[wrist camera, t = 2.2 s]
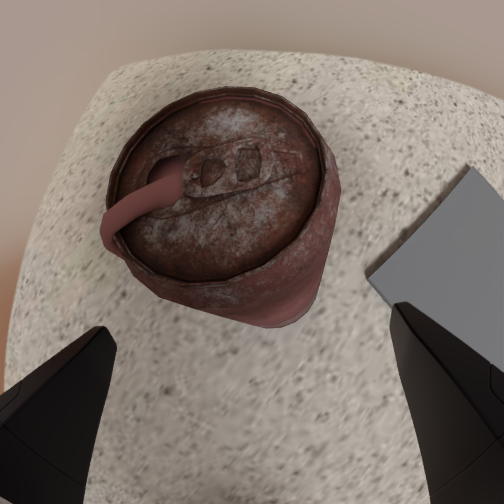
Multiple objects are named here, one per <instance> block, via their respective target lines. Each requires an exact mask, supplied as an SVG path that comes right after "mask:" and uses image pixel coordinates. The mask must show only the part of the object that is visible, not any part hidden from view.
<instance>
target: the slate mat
mask: <svg viewBox="0 0 504 504" xmlns="http://www.w3.org/2000/svg"><path fill="white" fill-rule="evenodd" d="M367 281H368V282H369V283H370V284H371V285H372V286H373V288H374V289H375V290H376V291H377V292H378V293H379V295H380V296H381V297H382V298H383V299H384V301H385V302H386V303H387V304H388V305H389V306H390V308H391V309H392V307H393V304H394V303H397V302H403V301H407V302H409V303H410V304H412V305H413V306H415V307H416V308H418V309H419V310H420V311H422V312H423V313H425V314H426V315H428V316H429V317H430V318H432V319H433V320H435V321H436V322H437V323H439V324H440V325H441V326H443V327H444V328H446V329H447V330H448V331H450V332H451V333H452V334H454V335H455V336H457V337H458V338H459V339H461V340H462V341H463V342H465V343H466V344H467V345H469V346H470V347H471V348H473V349H474V350H475V351H477V352H478V353H479V354H481V355H482V356H483V357H484V358H486V359H487V360H488V361H490V364H494V365H495V366H496V367H498V368H499V369H500V370H501V371H503V372H504V200H503V199H502V198H501V196H500V195H499V194H498V193H497V192H496V191H495V189H494V188H493V187H492V186H491V185H490V184H489V183H488V181H487V180H486V179H485V178H484V177H483V176H482V175H481V174H480V173H479V172H478V171H477V170H476V168H475V167H474V166H472V167H471V169H470V170H469V171H468V172H467V174H466V175H465V176H464V177H463V179H462V180H461V181H460V182H459V183H458V185H457V186H456V187H455V188H454V189H453V190H452V192H451V193H450V194H449V195H448V196H447V197H446V199H445V200H444V201H443V202H442V203H441V204H440V205H439V206H438V208H437V209H436V210H435V211H434V212H433V213H432V214H431V215H430V216H429V218H428V219H427V220H426V221H425V222H424V223H423V224H422V225H421V226H420V227H419V228H418V229H417V230H416V231H415V233H414V234H413V235H412V236H411V237H410V238H409V239H408V240H407V241H406V242H405V243H404V244H403V245H402V246H401V247H400V248H399V249H398V250H397V251H396V252H395V253H394V254H393V255H392V256H391V257H390V258H389V259H388V260H387V261H386V262H385V263H384V264H383V265H382V266H381V267H380V268H379V269H378V270H377V271H376V272H375V273H373V274H372V275H371V276H370V277H369V278H368V279H367Z"/></svg>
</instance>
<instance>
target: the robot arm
mask: <svg viewBox="0 0 504 504" xmlns="http://www.w3.org/2000/svg"><path fill="white" fill-rule="evenodd" d="M390 334H391V338H392V342H393V347H394V352H395V356H396V361H397V366H398V371H399V376H400V379H401V383H402V386H403V389H404V393H405V396H406V399H407V403H408V406H409V410H410V413H411V417H412V420H413V424H414V428H415V432H416V436H417V440H418V444H419V448H420V452H421V456H422V461H423V465H424V470H425V475H426V480H427V485H428V490H429V495H430V502H431V504H504V372H503V371H501V370H500V369H499V368H498V367H496V366H495V365H494V364H490V361H488V360H487V359H486V358H484V357H483V356H482V355H481V354H479V353H478V352H477V351H475V350H474V349H473V348H471V347H470V346H469V345H467V344H466V343H465V342H463V341H462V340H461V339H459V338H458V337H457V336H455V335H454V334H452V333H451V332H450V331H448V330H447V329H446V328H444V327H443V326H441V325H440V324H439V323H437V322H436V321H435V320H433V319H432V318H430V317H429V316H428V315H426V314H425V313H423V312H422V311H420V310H419V309H418V308H416V307H415V306H413V305H412V304H410V303H409V302H407V301H403V302H397V303H394V304H393V307H392V313H391V319H390ZM116 352H117V345H116V342H115V341H114V339H113V337H112V336H111V334H110V332H109V330H108V329H107V328H106V327H104V326H95V327H93V328H92V329H90V330H89V331H87V332H86V333H85V334H83V335H82V336H80V337H79V338H78V339H76V340H75V341H74V342H72V343H71V344H69V345H68V346H67V347H65V348H64V349H62V350H61V351H60V352H58V353H57V354H56V355H54V356H53V357H52V358H50V359H49V360H47V361H46V362H45V363H43V364H42V365H41V366H39V367H38V368H37V369H35V370H34V371H33V372H31V373H30V374H29V375H27V376H26V377H25V378H23V380H21V381H19V382H18V383H17V384H15V385H14V386H13V387H11V388H10V389H9V390H7V391H6V392H4V393H3V394H2V395H0V504H83V500H84V494H85V489H86V482H87V477H88V472H89V467H90V462H91V457H92V453H93V448H94V444H95V440H96V436H97V432H98V428H99V424H100V420H101V416H102V412H103V408H104V405H105V401H106V398H107V394H108V390H109V386H110V382H111V376H112V371H113V366H114V361H115V356H116Z"/></svg>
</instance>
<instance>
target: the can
mask: <svg viewBox="0 0 504 504" xmlns="http://www.w3.org/2000/svg"><path fill="white" fill-rule="evenodd" d="M340 194H341V186H340V181H339V175H338V170H337V166H336V161H335V156H334V155H333V153H332V152H331V150H330V148H329V147H328V145H327V144H326V142H325V141H324V139H323V137H322V136H321V134H320V133H319V131H318V130H317V129H316V127H315V126H314V124H313V123H312V121H311V120H310V118H309V117H308V115H307V114H306V113H305V112H304V111H302V110H301V109H299V108H298V107H297V106H295V105H294V104H293V103H291V102H290V101H288V100H287V99H285V98H284V97H282V96H280V95H277V94H274V93H270V92H267V91H264V90H261V89H258V88H253V87H229V86H224V87H219V88H214V89H209V90H204V91H200V92H195V93H193V94H191V95H188V96H186V97H184V98H182V99H179V100H177V101H175V102H173V103H171V104H169V105H167V106H166V107H164V108H163V109H161V110H160V111H159V112H157V113H156V114H155V115H153V116H152V117H151V118H149V119H148V120H147V121H146V122H144V123H143V124H142V125H141V127H140V128H139V129H138V130H137V131H136V132H135V134H134V135H133V136H132V137H131V138H130V140H129V141H128V142H127V143H126V144H125V146H124V147H123V149H122V151H121V153H120V155H119V157H118V159H117V161H116V163H115V165H114V167H113V169H112V171H111V175H110V180H109V185H108V190H107V195H106V210H107V212H105V213H104V215H103V219H102V223H101V227H100V235H101V238H102V241H103V244H104V247H105V248H106V249H107V250H109V251H110V252H112V253H113V254H115V255H117V256H118V257H120V258H122V259H123V260H125V262H126V264H127V266H128V267H129V269H130V271H131V273H132V274H133V276H134V277H135V278H137V279H138V280H139V281H140V282H141V283H143V284H144V285H145V286H146V287H147V288H149V289H150V290H151V291H152V292H153V293H155V294H156V295H157V296H158V297H160V298H163V299H166V300H169V301H172V302H175V303H178V304H181V305H184V306H187V307H190V308H194V309H197V310H200V311H204V312H207V313H211V314H214V315H218V316H221V317H225V318H228V319H232V320H236V321H239V322H243V323H247V324H251V325H255V326H258V327H262V328H281V327H284V326H286V325H289V324H291V323H294V322H296V321H297V320H298V319H300V318H301V317H302V316H303V315H304V314H306V313H307V312H308V310H309V309H310V307H311V306H312V304H313V302H314V301H315V299H316V296H317V292H318V289H319V285H320V282H321V278H322V274H323V270H324V267H325V263H326V259H327V255H328V251H329V247H330V243H331V239H332V235H333V231H334V226H335V221H336V216H337V211H338V205H339V199H340Z"/></svg>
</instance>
